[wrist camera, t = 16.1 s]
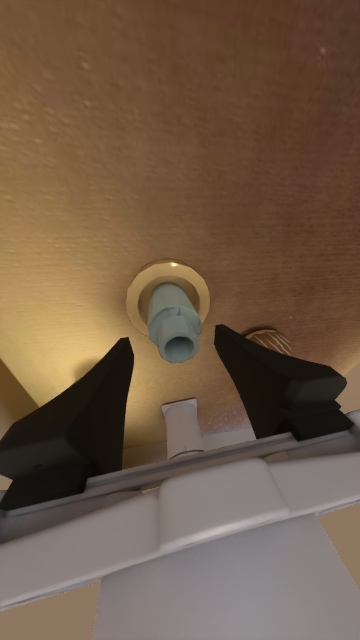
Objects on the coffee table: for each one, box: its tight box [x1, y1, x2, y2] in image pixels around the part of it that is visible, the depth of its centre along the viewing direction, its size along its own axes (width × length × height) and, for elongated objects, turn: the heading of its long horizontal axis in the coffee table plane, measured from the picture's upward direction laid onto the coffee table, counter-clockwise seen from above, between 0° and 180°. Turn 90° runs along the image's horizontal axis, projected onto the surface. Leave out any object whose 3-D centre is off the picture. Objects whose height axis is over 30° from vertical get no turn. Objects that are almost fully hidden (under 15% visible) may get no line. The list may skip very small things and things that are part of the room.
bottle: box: [147, 282, 201, 363], centre depth 15 cm, size 5×5×10 cm
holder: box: [126, 259, 210, 336], centre depth 18 cm, size 10×10×3 cm
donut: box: [246, 330, 291, 356], centre depth 26 cm, size 11×11×4 cm
